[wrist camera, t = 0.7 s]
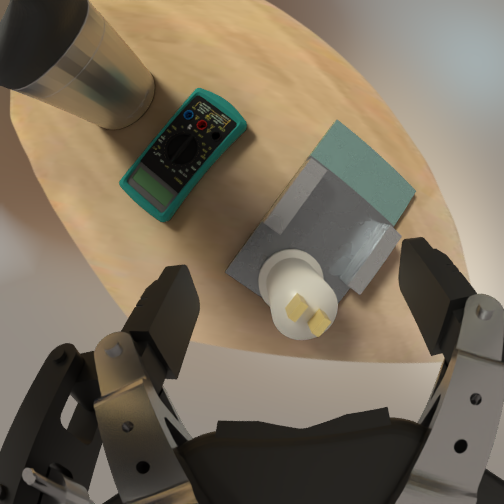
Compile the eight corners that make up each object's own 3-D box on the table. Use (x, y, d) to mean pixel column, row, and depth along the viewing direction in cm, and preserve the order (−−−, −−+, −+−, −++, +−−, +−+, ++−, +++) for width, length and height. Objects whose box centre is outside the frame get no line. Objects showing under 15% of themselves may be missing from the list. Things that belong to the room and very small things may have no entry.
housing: (225, 270, 32) (222, 279, 28) (334, 121, 29) (345, 112, 25) (312, 328, 34) (320, 343, 30) (412, 191, 31) (429, 190, 27)
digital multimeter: (251, 125, 30) (252, 118, 27) (168, 223, 32) (160, 226, 29) (204, 90, 29) (200, 80, 26) (124, 185, 31) (114, 184, 28)
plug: (245, 287, 32) (243, 331, 21) (284, 235, 31) (303, 254, 20) (295, 320, 32) (314, 373, 22) (333, 272, 31) (371, 307, 21)
